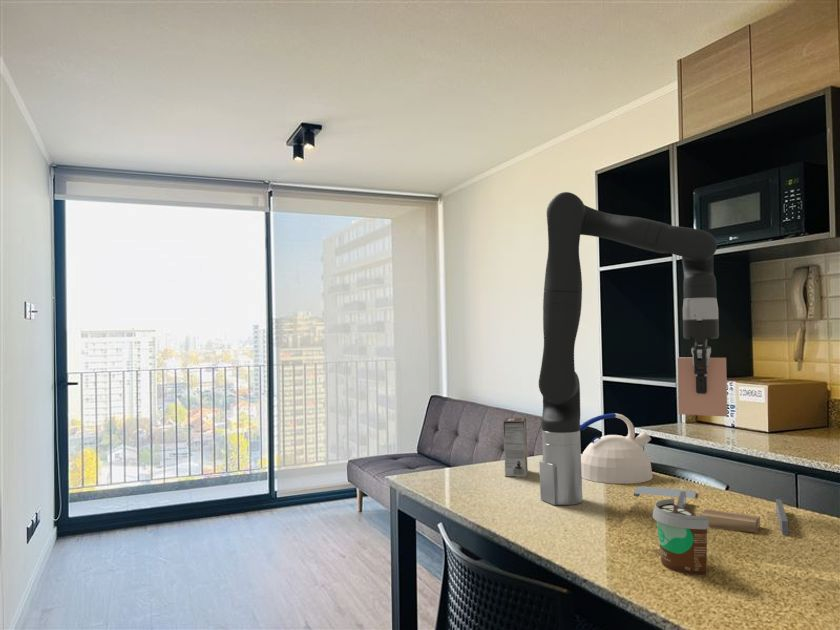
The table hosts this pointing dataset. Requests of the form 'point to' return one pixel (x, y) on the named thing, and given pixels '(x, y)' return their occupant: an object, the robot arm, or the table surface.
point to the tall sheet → (716, 388)
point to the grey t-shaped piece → (663, 492)
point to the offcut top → (732, 520)
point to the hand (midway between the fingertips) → (702, 392)
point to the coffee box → (515, 447)
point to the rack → (779, 510)
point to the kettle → (616, 456)
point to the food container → (681, 538)
